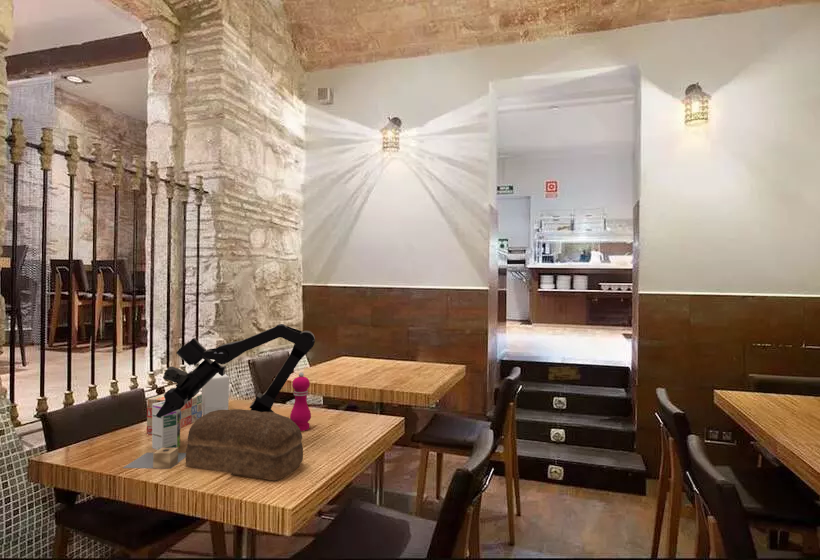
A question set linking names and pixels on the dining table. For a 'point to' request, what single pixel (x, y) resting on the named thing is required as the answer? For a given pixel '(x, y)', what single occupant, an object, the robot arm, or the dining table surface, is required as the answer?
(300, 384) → the pepper mill
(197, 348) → the robot arm
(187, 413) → the stack of blocks
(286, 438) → the bread
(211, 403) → the supplement box
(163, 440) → the syrup box
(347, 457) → the dining table surface
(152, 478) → the dining table surface
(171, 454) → the oak block
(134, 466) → the slate board
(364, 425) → the dining table surface
